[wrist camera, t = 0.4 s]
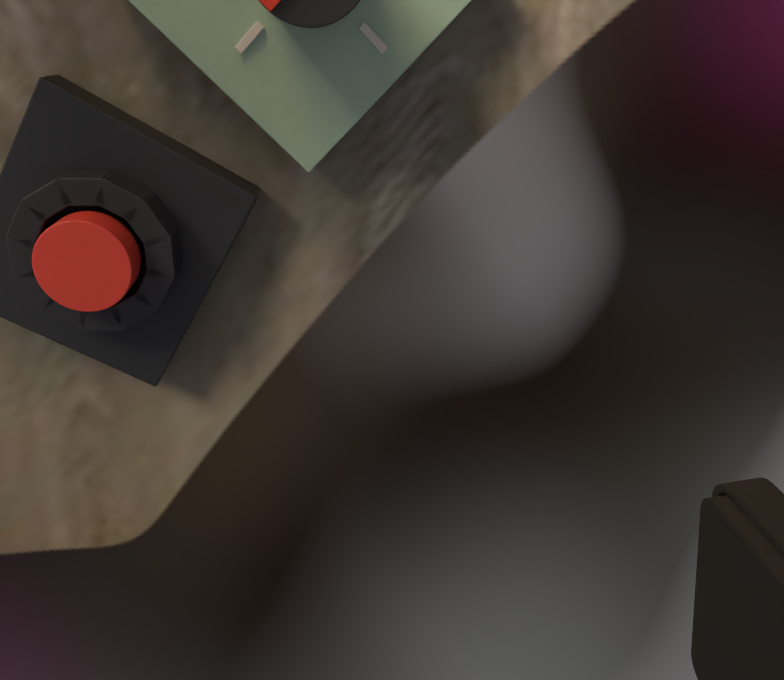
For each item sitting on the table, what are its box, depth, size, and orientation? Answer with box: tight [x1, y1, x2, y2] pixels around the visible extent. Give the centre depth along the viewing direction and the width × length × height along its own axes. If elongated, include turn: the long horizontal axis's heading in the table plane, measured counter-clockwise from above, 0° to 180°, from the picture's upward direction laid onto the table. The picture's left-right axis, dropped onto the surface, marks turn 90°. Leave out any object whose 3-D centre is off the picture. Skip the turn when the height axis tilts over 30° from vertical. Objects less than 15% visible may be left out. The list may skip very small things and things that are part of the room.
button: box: [32, 211, 141, 312], centre depth 30 cm, size 4×4×2 cm
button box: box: [0, 75, 260, 386], centre depth 33 cm, size 11×10×4 cm
